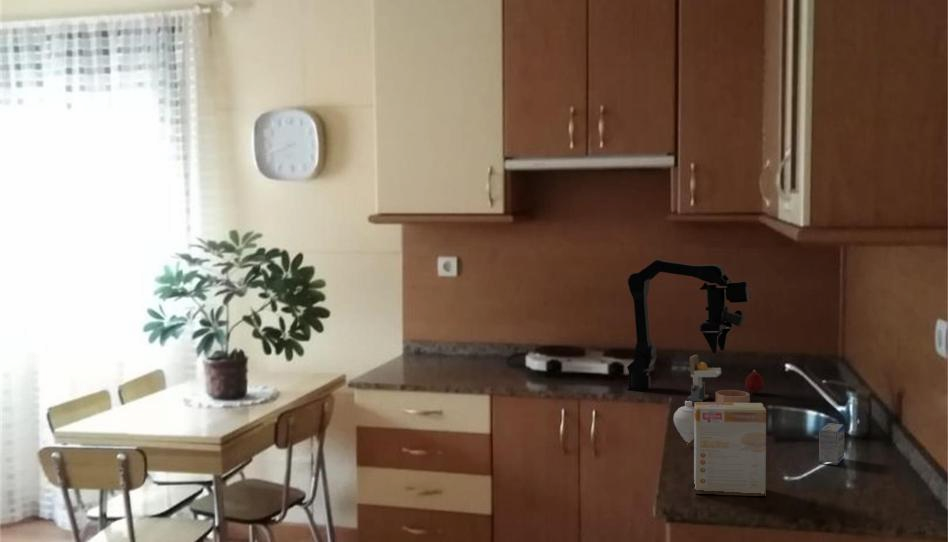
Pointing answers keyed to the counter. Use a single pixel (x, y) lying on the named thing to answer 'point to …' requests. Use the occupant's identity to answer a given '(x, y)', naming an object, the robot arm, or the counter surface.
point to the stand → (698, 393)
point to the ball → (701, 366)
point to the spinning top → (685, 421)
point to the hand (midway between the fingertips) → (718, 351)
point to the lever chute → (703, 373)
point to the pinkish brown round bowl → (732, 396)
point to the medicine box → (831, 443)
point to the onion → (754, 382)
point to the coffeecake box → (730, 447)
